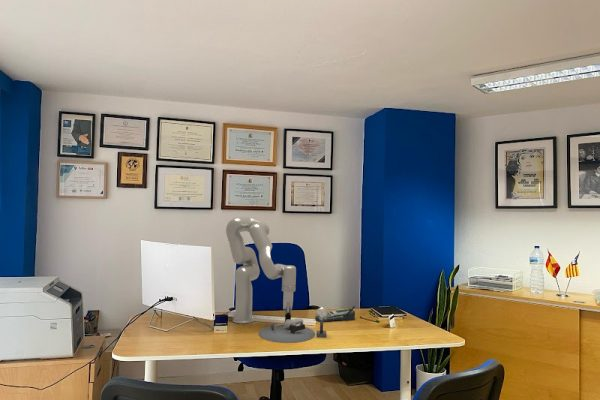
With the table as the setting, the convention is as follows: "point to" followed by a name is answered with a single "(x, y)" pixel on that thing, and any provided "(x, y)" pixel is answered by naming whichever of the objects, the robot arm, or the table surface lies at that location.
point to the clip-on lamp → (292, 325)
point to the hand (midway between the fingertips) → (287, 321)
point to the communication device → (339, 315)
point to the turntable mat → (286, 334)
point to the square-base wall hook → (321, 322)
